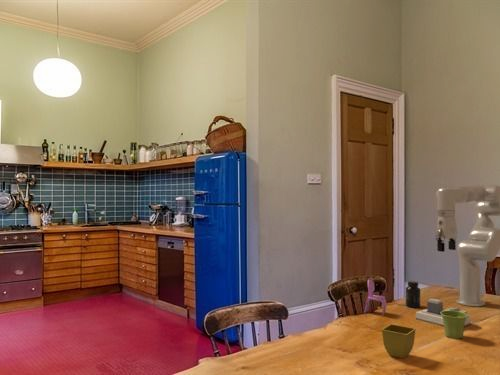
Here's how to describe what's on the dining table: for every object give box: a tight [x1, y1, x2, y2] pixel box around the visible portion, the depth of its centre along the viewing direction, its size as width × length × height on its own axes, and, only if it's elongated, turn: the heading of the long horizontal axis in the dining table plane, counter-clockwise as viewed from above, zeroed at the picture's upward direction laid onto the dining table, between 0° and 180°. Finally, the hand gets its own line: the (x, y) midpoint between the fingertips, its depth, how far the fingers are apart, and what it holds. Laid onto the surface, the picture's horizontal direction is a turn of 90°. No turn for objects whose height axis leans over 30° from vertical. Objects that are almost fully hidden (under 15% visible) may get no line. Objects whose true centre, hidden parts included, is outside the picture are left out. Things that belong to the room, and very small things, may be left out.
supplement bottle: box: [405, 280, 421, 309], centre depth 210 cm, size 7×7×12 cm
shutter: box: [442, 306, 468, 318], centre depth 181 cm, size 7×7×4 cm
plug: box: [426, 298, 444, 315], centre depth 188 cm, size 4×5×8 cm
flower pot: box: [381, 323, 416, 359], centre depth 146 cm, size 9×9×9 cm
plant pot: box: [440, 311, 468, 340], centre depth 166 cm, size 9×9×9 cm
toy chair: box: [363, 279, 387, 316], centre depth 199 cm, size 8×9×15 cm
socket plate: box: [415, 308, 472, 327], centre depth 185 cm, size 12×18×4 cm, turn 36°
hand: (446, 250), depth 203 cm, fingers open, 9 cm apart
